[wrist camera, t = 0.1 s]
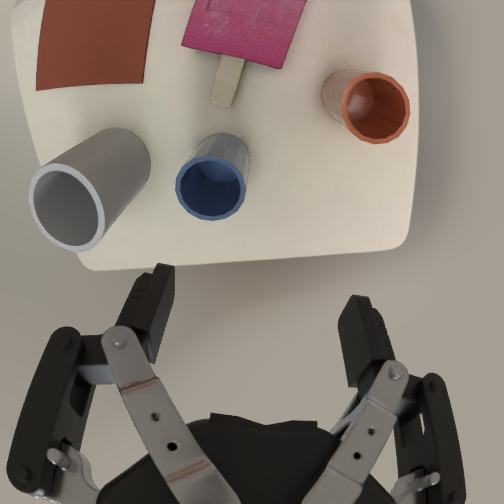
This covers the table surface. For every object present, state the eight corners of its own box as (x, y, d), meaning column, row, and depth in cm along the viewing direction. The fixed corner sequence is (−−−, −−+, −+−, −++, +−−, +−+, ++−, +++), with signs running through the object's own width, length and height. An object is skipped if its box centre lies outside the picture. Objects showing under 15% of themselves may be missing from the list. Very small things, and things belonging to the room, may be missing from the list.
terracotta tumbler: (328, 63, 24) (350, 62, 17) (381, 80, 25) (417, 88, 18) (315, 115, 28) (333, 132, 21) (367, 130, 28) (398, 152, 21)
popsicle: (263, 114, 28) (320, -41, 17) (263, 122, 24) (329, -56, 13) (179, 93, 27) (233, -62, 15) (165, 99, 23) (228, -79, 12)
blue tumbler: (198, 129, 29) (177, 151, 22) (254, 138, 30) (251, 162, 23) (193, 180, 33) (174, 215, 26) (245, 187, 33) (239, 225, 26)
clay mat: (48, -6, 17) (46, -6, 16) (162, -29, 18) (160, -30, 17) (37, 90, 25) (35, 90, 25) (142, 83, 26) (141, 83, 26)
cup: (131, 208, 35) (90, 266, 26) (78, 174, 32) (23, 221, 23) (163, 152, 31) (119, 197, 21) (102, 115, 28) (39, 145, 18)
